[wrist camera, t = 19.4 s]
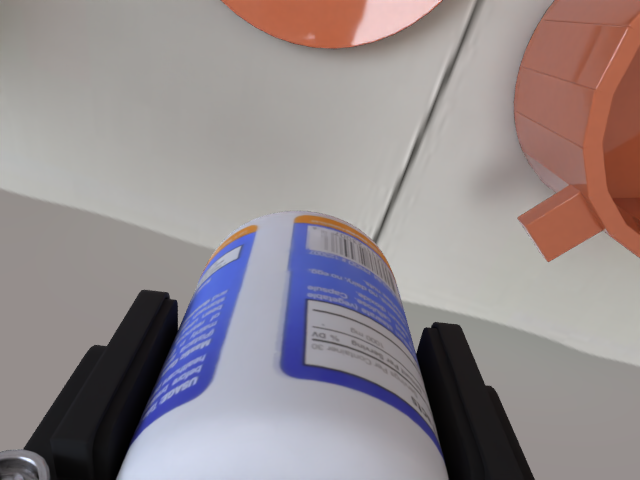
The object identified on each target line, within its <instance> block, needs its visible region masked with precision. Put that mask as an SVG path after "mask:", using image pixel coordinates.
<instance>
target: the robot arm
mask: <svg viewBox="0 0 640 480" xmlns="http://www.w3.org/2000/svg"><path fill="white" fill-rule="evenodd" d="M177 332H178V305H177V300H171V299H170V297H169V293H167V292H158V291H150V290H142V291H141V292H140V293H139V294H138V296H137V298H136V299H135V301H134V303H133V304H132V306H131V308H130V309H129V311H128V313H127V314H126V316H125V317H124V319H123V321H122V322H121V324H120V326H119V327H118V329H117V331H116V332H115V334H114V335H113V337H112V339H111V340H110V342H109V344H108V345H107V346H100V345H94V346H92V347H91V348H90V349H89V350H88V352H87V353H86V354H85V356H84V357H83V359H82V360H81V362H80V364H79V365H78V366H77V368H76V369H75V371H74V373H73V374H72V376H71V377H70V379H69V380H68V382H67V383H66V385H65V386H64V388H63V389H62V391H61V393H60V394H59V395H58V397H57V398H56V400H55V402H54V403H53V405H52V406H51V408H50V409H49V411H48V412H47V414H46V415H45V417H44V418H43V420H42V421H41V423H40V424H39V426H38V427H37V429H36V431H35V432H34V433H33V435H32V437H31V438H30V440H29V441H28V443H27V444H26V446H25V447H24V449H21V450H6V451H2V452H0V480H116V478H117V476H118V473H119V470H120V468H121V465H122V462H123V460H124V457H125V455H126V452H127V450H128V447H129V445H130V442H131V439H132V437H133V435H134V432H135V430H136V428H137V425H138V423H139V421H140V418H141V416H142V414H143V411H144V409H145V407H146V404H147V402H148V400H149V397H150V395H151V393H152V390H153V388H154V386H155V383H156V381H157V379H158V376H159V374H160V372H161V369H162V367H163V364H164V362H165V360H166V357H167V355H168V353H169V350H170V348H171V346H172V343H173V341H174V339H175V337H176V334H177ZM416 356H417V360H418V364H419V367H420V371H421V375H422V378H423V381H424V385H425V389H426V393H427V397H428V400H429V404H430V408H431V411H432V415H433V419H434V422H435V425H436V430H437V434H438V438H439V442H440V446H441V449H442V453H443V456H444V460H445V465H446V469H447V473H448V478H449V480H535V479H534V477H533V475H532V473H531V470H530V468H529V465H528V463H527V461H526V458H525V456H524V454H523V452H522V449H521V447H520V445H519V442H518V440H517V438H516V436H515V433H514V431H513V429H512V426H511V424H510V422H509V420H508V417H507V415H506V413H505V410H504V408H503V406H502V403H501V401H500V399H499V397H498V394H497V393H496V391H495V390H494V388H492V387H491V386H486V385H485V384H484V381H483V379H482V376H481V374H480V372H479V369H478V367H477V364H476V362H475V359H474V357H473V355H472V353H471V350H470V348H469V345H468V343H467V340H466V338H465V335H464V333H463V331H462V328H461V327H460V326H459V325H457V324H448V323H439V322H435V323H433V325H432V326H431V328H427V327H426V328H424V330H423V333H422V336H421V339H420V343H419V346H418V350H417V353H416Z"/></svg>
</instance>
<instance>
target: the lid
mask: <svg viewBox="0 0 640 480" xmlns="http://www.w3.org/2000/svg"><path fill="white" fill-rule="evenodd" d="M221 1H222V2H223V3H224V4H225V5H226V6H228V7H229V8H230V9H231V10H232V11H233V12H234V13H235V14H237V15H238V16H239V17H241V18H242V19H244V20H245V21H247V22H248V23H250V24H251V25H253V26H254V27H256V28H258V29H260V30H262V31H264V32H266V33H268V34H270V35H271V36H273V37H276V38H279V39H282V40H285V41H288V42H290V43H293V44H298V45H303V46H308V47H314V48H331V49H335V48H347V47H355V46H360V45H364V44H369V43H373V42H376V41H379V40H381V39H384V38H387V37H389V36H392V35H394V34H396V33H398V32H400V31H402V30H403V29H405V28H407V27H409V26H411V25H413V24H414V23H415V22H417V21H418V20H420V19H421V18H422V17H424V16H425V15H427V14H428V13H430V12H431V11H432V10H433V9H434V8H435V7H436V6H437V5H438V4H440V3H441V2H442V1H443V0H221Z"/></svg>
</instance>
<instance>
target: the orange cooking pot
mask: <svg viewBox="0 0 640 480" xmlns="http://www.w3.org/2000/svg"><path fill="white" fill-rule="evenodd" d="M514 119H515V125H516V131H517V136H518V139H519V143H520V146H521V149H522V151H523V153H524V155H525V157H526V159H527V161H528V163H529V164H530V166H531V167H532V169H533V170H534V171H535V173H536V174H537V175H538V177H539V178H540V180H541V181H542V182H543V183H545V184H546V185H547V186H548V187H549V188H551V189H552V190H553V191H554V192H556V194H554V195H553V196H551V197H549V198H548V199H546V200H545V201H543V202H541V203H540V204H538V205H537V206H535V207H534V208H532V209H530V210H529V211H527V212H526V213H524V214H522V215H521V216H519V217H518V218H517V219H518V220H519V222H520V223H521V225H522V226H523V228H524V229H525V231H526V232H527V234H528V236H529V237H530V239H531V240H532V242H533V243H534V245H535V246H536V248H537V249H538V251H539V252H540V253H541V255H542V256H543V257H544V258H545V259H546V260H547V261H548V262H550V261H551V260H553V259H555V258H556V257H558V256H560V255H561V254H563V253H565V252H567V251H568V250H570V249H572V248H573V247H575V246H577V245H579V244H580V243H582V242H584V241H585V240H587V239H589V238H590V237H592V236H594V235H596V234H597V233H599V232H601V231H602V230H603V231H604V232H605V233H607V234H608V235H609V236H610V237H612V238H613V239H614V240H616V241H617V242H618V243H620V244H621V245H622V246H624V247H625V248H627V249H628V250H629V251H631V252H632V253H633V254H635V255H636V256H637V257H639V258H640V0H555V1H554V2H553V3H552V4H551V6H550V7H549V8H548V10H547V11H546V13H545V14H544V16H543V18H542V19H541V21H540V22H539V24H538V26H537V27H536V29H535V31H534V33H533V35H532V37H531V39H530V41H529V43H528V45H527V48H526V51H525V53H524V56H523V59H522V62H521V65H520V68H519V73H518V77H517V82H516V88H515V98H514Z"/></svg>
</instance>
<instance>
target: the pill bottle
mask: <svg viewBox="0 0 640 480" xmlns="http://www.w3.org/2000/svg"><path fill="white" fill-rule="evenodd" d="M116 480H449V478H448V473H447V469H446V465H445V460H444V456H443V453H442V449H441V446H440V442H439V438H438V434H437V430H436V425H435V422H434V419H433V415H432V411H431V408H430V404H429V400H428V397H427V393H426V389H425V385H424V381H423V378H422V375H421V371H420V367H419V364H418V360H417V356H416V353H415V349H414V346H413V342H412V338H411V334H410V331H409V327H408V324H407V320H406V316H405V312H404V309H403V305H402V302H401V298H400V294H399V291H398V287H397V284H396V280H395V278H394V275H393V273H392V270H391V268H390V266H389V264H388V261H387V259H386V258H385V256H384V255H383V253H382V251H381V250H380V249H379V247H378V246H377V245H376V244H375V242H373V241H372V240H371V239H370V238H369V237H368V236H367V235H366V234H365V233H363V232H362V231H361V230H359V229H358V228H356V227H355V226H353V225H351V224H349V223H348V222H345V221H343V220H341V219H338V218H335V217H333V216H329V215H325V214H321V213H316V212H308V211H286V212H279V213H273V214H268V215H265V216H261V217H259V218H256V219H254V220H251V221H249V222H247V223H245V224H244V225H242V226H240V227H239V228H237V229H236V230H235V231H233V232H232V233H231V234H230V235H229V236H227V237H226V238H225V239H224V240H223V241H222V243H221V244H220V245H219V246H218V247H217V249H216V250H215V251H214V253H213V255H212V256H211V258H210V260H209V261H208V263H207V264H206V267H205V269H204V271H203V273H202V275H201V277H200V280H199V282H198V285H197V287H196V290H195V292H194V294H193V297H192V299H191V301H190V303H189V306H188V309H187V311H186V313H185V316H184V318H183V321H182V323H181V325H180V327H179V330H178V332H177V334H176V337H175V339H174V341H173V343H172V346H171V348H170V350H169V353H168V355H167V357H166V360H165V362H164V364H163V367H162V369H161V372H160V374H159V376H158V379H157V381H156V383H155V386H154V388H153V390H152V393H151V395H150V397H149V400H148V402H147V404H146V407H145V409H144V411H143V414H142V416H141V418H140V421H139V423H138V425H137V428H136V430H135V432H134V435H133V437H132V439H131V442H130V445H129V447H128V450H127V452H126V455H125V457H124V460H123V462H122V465H121V468H120V470H119V473H118V476H117V478H116Z"/></svg>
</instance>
